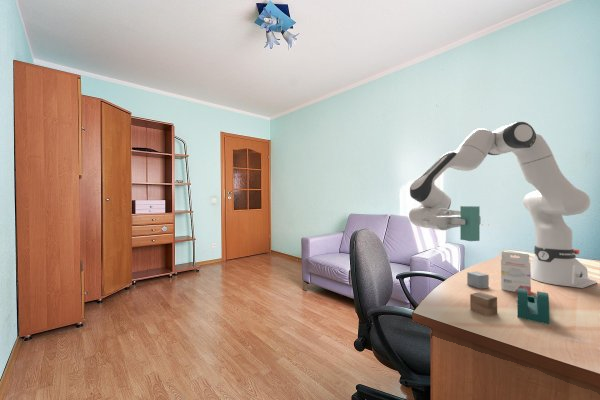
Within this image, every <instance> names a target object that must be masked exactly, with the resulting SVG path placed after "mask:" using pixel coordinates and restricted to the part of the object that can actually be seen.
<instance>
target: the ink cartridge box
mask: <svg viewBox="0 0 600 400" xmlns="http://www.w3.org/2000/svg"><path fill="white" fill-rule="evenodd" d="M513 256H516V257H513ZM500 274H501V275H500V276H501V277H500V279H501V280H500V281H501V282H500V285H501V290H503V291H509V292H514V293H517V292H518V288H521V289H527V294H528V295H531V292H532V291H531V289H532V287H531V286H532V285H531V284H532V283H531V282H532V281H531V279H532V278H531V261H530V254H528V253H520V252H510V251H502V252H501V259H500Z"/></svg>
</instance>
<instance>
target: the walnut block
mask: <svg viewBox="0 0 600 400" xmlns="http://www.w3.org/2000/svg"><path fill="white" fill-rule="evenodd" d="M469 296H470V300H469V301H470V302H469V303H470V305H469V306H470V308H469V310H470V311H472V312H475V313H477V314H481V315H483V316H485V315H486V317H489V315H490V316H493V315H496V314H498V296H496V295H495V296H494V295H492V294H489V293H485V292H481V291H477V292H474V293H471V294H470V295H469Z"/></svg>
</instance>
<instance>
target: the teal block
mask: <svg viewBox="0 0 600 400" xmlns="http://www.w3.org/2000/svg"><path fill="white" fill-rule="evenodd" d="M459 211H460V219H465V220H467V221H468V222H467V223H468V224H467V225H461V224H460V228H459V229H460V234H459V236H460V237H459V238H460V240H461V241H467V242H479V241H480V233H481V232H480V231H481V230H480V226H481V224H480V217H481V215H480V211H481V210H480V206H476V205H475V206H473V205H466V206H464V205H463V206H462V205H460V210H459Z"/></svg>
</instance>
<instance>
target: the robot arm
mask: <svg viewBox="0 0 600 400" xmlns="http://www.w3.org/2000/svg"><path fill="white" fill-rule="evenodd" d="M507 153H508V154H509V153H513V154H514V155H515V156H516V158H517V162H518V164H519V167H520V169H521V172H522V174H523V176H524V179H525V181H526V182H527V183H528V184H531V185H532V186H533V187H534V188H535V189H536V190H533V191H531V192H528V193H527V194H526V195H525V196H524V197H523V206H524V208H525V209H526V210H527V211H528V212H529V214H530V216H531V219H532V222H533V224H534V229H535V231H534V232H535V246H534V249H533V251H534V255H535V256H532V257H531V263H530V272H531V279H533V280H535V281H537V282H540V283H541V282H542V283H545V284H549V285H556V286H562V287H573V288H579V289H583V288H587V287H590V286H592V285H594V284H597V280H595V279H594V278H589V276H588V275H589V273H588V268H587V266H585V265H584V264H583V263H582V262H580V261H579V260H578V259H577V258H576V257H577V256H576V255H580V249H574V248H573V229H571V227H569V226H568V225H567V223H566V222H565V220H564V218H563V216H565V217H566V216H567V217H568V216H575V215H580V214H583V213H585V212H586V211H588V209H589V208H590V205H591V200H590V197H589V195H588V194H587V193H586V192H585V191H582V190H580V189H578V188H577V187H576V186H575V185H574V184H572V183H571V182H570V181H569V180H568V178H567V177H566V176H565V175H564V174H563V172H562V170H560V168H559V165H558V163H557V161H556V159H555V156H554V154H553V151H552V150H551V147H550V145H549V144H548V143H547V141H546V139H544V137H543V136H542V135H540V134H538V133H537V132H536V131H535V128H533V126H532V125H530V124H529V123H527V122H525V121H516V122H515V121H514V122H512V123H510V124H507V125H504V126H501V127H499V128H497V129H496V130H493V131H491V130H489V129H486V128H477V129H475V130H473V131H472V132H471V133H470V134H468V136H467V137H466V138H465V139H464V140H463V142H461V144H460V145H459V147H458V148H457V149H456V150H453V151H452V150H451V151H448V152H446V153H445V154H443V155H442V156H441V157H440V158H439V159H437V161H436V162H434V164H433V165H431V166H430V167H429V168H428V169H427V170H426V171H425V172H424V173H423V174H422V175H421V176H420V177H418V178H417V179H416V180H414V182H412V183H411V185H410V187H409V195H410V197H411V199H413V200H415V201H417V202H418V203H419V204H421V205H419V206H417V207H415V208H412V209H411V210H410V211H409V213H408V217H409V221H410V222H411V223H412V224H413V225H414V226H415V227H420V228H425V229H432V230H439V231H447V230H450V229H454V228H459V227H460V224H461V225H467V224H468V223H467V222H468V221H467V220H465V219H460V210H453V209H450V208H451V204H452V199H451V197H450V196H449V195H448V194H447V193H445V192H444V191H443V190H441V189H440V188H439V187H438V186H437V185H436V184H435V181H436V180H437V179H438V178H439V177H440V176H441V175H442V174H443V173H444V172H445V171H446V170H447V169H449V168H452V169H454V170H457V171H461V172H464V171H465V172H468V171H469V172H471V171H473V170H475V169H477V168H479V166H480V165H481V164H482V163H483V161H484V160H485V159H486V157H487V156H488V155H489V156H498V155H499V156H500V155H503V154H507ZM481 217H482V216H480V225H481Z"/></svg>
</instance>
